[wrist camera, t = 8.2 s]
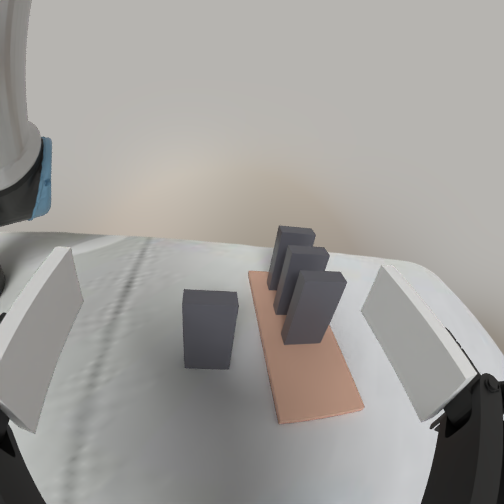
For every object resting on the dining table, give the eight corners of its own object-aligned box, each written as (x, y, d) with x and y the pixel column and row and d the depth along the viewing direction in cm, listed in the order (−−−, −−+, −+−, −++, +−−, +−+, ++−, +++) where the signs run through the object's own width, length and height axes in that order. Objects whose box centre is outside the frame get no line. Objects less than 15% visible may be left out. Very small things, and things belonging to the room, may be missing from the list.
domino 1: (228, 369, 29) (238, 306, 24) (184, 367, 28) (182, 303, 23) (227, 355, 31) (236, 291, 26) (185, 354, 30) (183, 289, 25)
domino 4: (320, 343, 34) (347, 282, 29) (283, 344, 33) (305, 281, 28) (316, 332, 35) (340, 271, 30) (280, 333, 34) (300, 270, 29)
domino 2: (299, 291, 43) (315, 235, 38) (268, 290, 42) (282, 232, 37) (296, 283, 45) (311, 228, 40) (266, 282, 44) (278, 225, 39)
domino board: (361, 410, 26) (364, 407, 25) (278, 424, 24) (280, 421, 23) (303, 277, 48) (305, 273, 48) (248, 274, 46) (248, 270, 46)
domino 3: (308, 314, 38) (329, 255, 33) (275, 314, 37) (292, 253, 32) (305, 305, 40) (324, 247, 35) (273, 305, 39) (288, 244, 34)
